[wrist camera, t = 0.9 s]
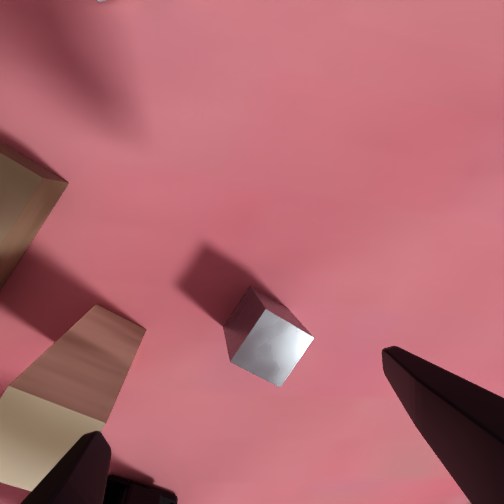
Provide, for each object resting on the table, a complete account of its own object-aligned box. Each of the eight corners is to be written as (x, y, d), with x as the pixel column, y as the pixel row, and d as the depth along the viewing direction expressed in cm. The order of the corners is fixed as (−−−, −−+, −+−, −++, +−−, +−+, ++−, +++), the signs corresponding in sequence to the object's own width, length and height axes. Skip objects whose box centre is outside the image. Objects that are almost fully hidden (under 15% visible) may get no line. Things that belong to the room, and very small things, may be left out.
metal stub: (262, 348, 22) (280, 387, 17) (223, 326, 21) (230, 361, 16) (288, 309, 22) (314, 337, 17) (250, 285, 21) (265, 308, 16)
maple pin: (117, 372, 20) (56, 498, 11) (66, 349, 19) (-46, 468, 10) (146, 329, 20) (106, 423, 11) (95, 304, 19) (8, 386, 10)
